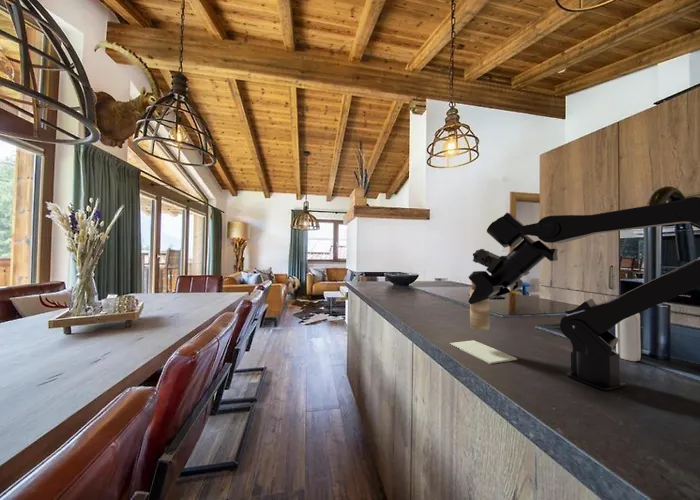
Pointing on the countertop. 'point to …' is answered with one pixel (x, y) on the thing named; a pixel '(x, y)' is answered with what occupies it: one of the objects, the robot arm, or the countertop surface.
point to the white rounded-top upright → (629, 338)
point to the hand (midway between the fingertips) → (474, 301)
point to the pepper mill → (479, 313)
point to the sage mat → (483, 352)
